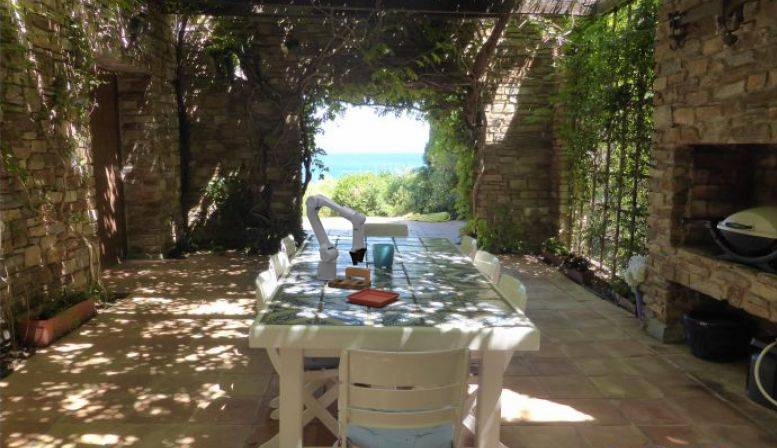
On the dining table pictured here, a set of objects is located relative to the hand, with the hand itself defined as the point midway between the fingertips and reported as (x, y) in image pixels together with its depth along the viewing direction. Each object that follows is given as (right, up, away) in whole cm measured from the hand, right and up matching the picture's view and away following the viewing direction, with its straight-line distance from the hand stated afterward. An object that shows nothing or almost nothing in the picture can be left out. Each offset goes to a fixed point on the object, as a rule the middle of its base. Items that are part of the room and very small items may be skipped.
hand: (357, 263), depth 278 cm
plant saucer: (+9, -15, -33) cm, 37 cm away
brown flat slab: (-4, -11, -9) cm, 14 cm away
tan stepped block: (0, -9, +1) cm, 9 cm away
